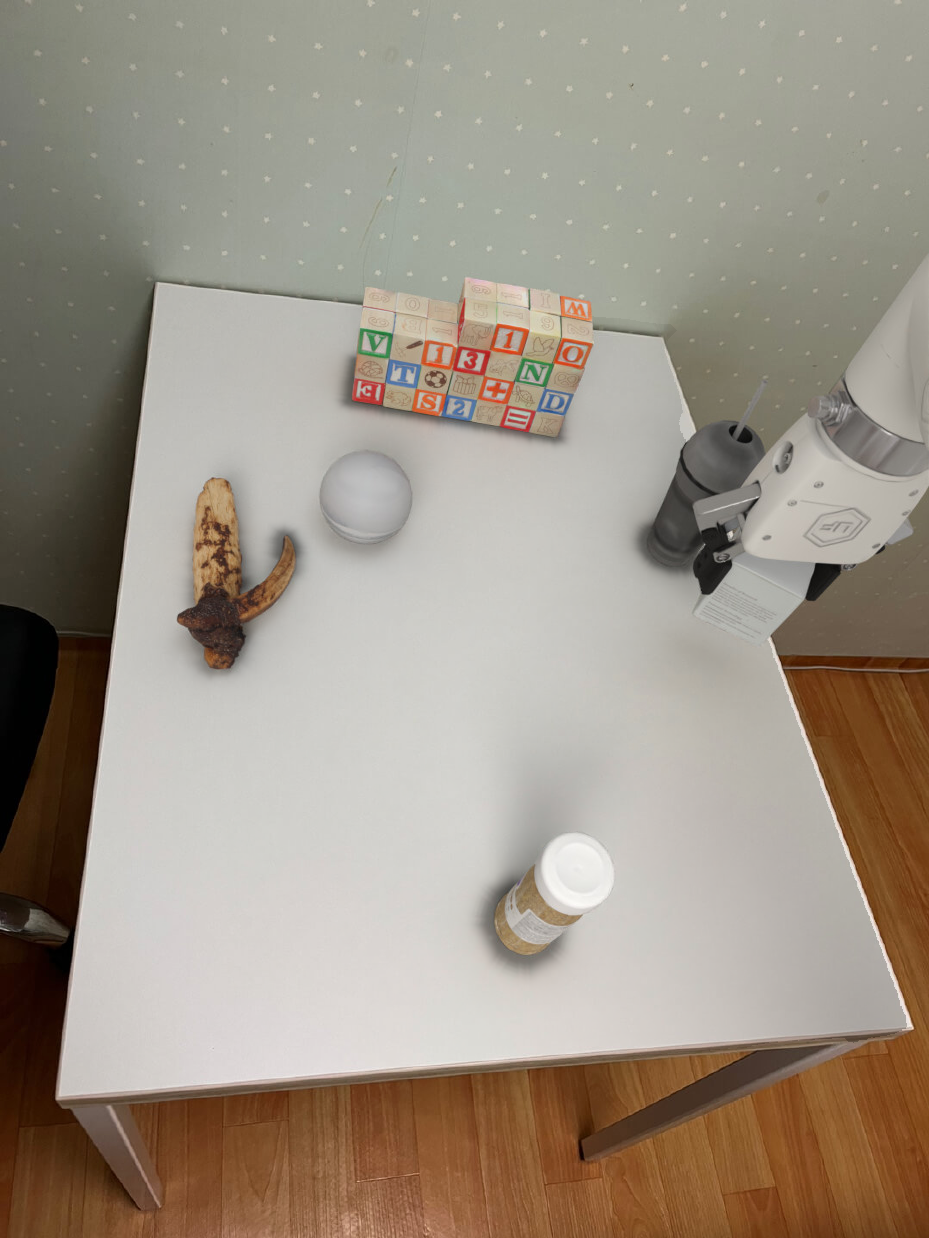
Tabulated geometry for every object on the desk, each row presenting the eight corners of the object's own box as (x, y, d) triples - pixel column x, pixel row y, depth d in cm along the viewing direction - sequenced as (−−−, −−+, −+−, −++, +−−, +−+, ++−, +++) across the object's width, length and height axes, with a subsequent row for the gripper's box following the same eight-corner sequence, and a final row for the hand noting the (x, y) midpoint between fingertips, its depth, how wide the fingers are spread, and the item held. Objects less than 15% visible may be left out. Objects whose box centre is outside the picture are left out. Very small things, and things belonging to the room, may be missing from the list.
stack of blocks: (349, 403, 86) (360, 299, 76) (356, 361, 89) (368, 255, 79) (558, 438, 89) (595, 342, 79) (557, 396, 92) (592, 299, 82)
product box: (710, 563, 72) (750, 507, 66) (777, 597, 72) (824, 543, 66) (689, 615, 69) (730, 560, 63) (759, 650, 68) (807, 599, 62)
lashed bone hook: (300, 675, 69) (291, 497, 78) (305, 646, 65) (294, 463, 74) (178, 678, 67) (182, 494, 76) (175, 648, 63) (179, 458, 72)
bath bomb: (369, 479, 81) (379, 417, 74) (424, 537, 78) (438, 478, 72) (299, 515, 77) (301, 453, 71) (353, 576, 75) (361, 518, 68)
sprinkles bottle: (508, 879, 63) (559, 815, 52) (564, 910, 62) (628, 852, 51) (481, 936, 60) (529, 882, 49) (539, 969, 60) (601, 922, 49)
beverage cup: (635, 572, 81) (729, 417, 64) (630, 513, 85) (717, 352, 68) (709, 583, 82) (820, 433, 65) (700, 524, 86) (802, 368, 69)
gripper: (771, 453, 49) (657, 617, 64) (1031, 478, 53) (867, 629, 67) (740, 363, 53) (640, 537, 68) (984, 391, 57) (839, 551, 71)
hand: (753, 582), depth 67 cm, fingers closed on product box, 8 cm apart
